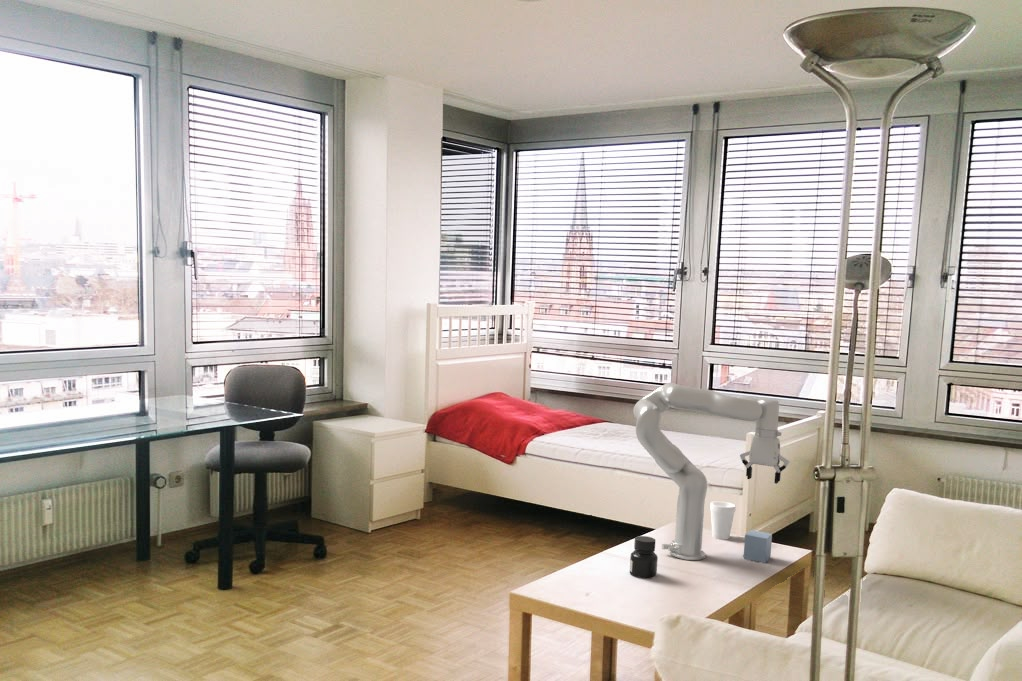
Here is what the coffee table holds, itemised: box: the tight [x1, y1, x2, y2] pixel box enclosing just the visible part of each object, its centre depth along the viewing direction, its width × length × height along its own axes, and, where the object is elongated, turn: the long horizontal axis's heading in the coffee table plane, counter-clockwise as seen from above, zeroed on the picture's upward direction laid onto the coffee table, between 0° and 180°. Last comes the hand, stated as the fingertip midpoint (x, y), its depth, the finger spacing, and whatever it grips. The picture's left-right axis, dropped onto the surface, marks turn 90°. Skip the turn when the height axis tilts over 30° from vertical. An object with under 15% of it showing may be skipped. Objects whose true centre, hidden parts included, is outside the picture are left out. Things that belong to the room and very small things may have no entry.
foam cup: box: [709, 500, 736, 540], centre depth 331 cm, size 10×9×13 cm
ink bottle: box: [629, 535, 658, 579], centre depth 282 cm, size 10×9×12 cm
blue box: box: [743, 529, 773, 564], centre depth 306 cm, size 8×8×9 cm
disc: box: [742, 554, 773, 564], centre depth 306 cm, size 10×10×1 cm
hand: (762, 480), depth 305 cm, fingers open, 9 cm apart
